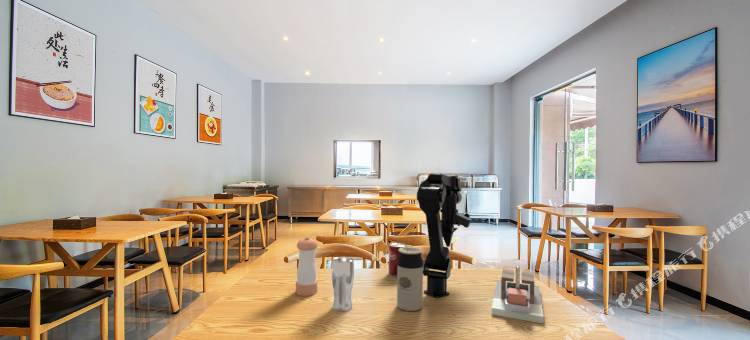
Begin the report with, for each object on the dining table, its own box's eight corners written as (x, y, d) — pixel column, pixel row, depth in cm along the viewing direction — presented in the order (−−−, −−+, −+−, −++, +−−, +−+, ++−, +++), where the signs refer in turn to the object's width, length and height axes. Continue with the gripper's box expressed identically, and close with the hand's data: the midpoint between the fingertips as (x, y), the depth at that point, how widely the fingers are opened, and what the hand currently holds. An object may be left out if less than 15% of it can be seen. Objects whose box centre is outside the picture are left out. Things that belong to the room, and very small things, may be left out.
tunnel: (533, 304, 105) (534, 281, 105) (501, 298, 109) (501, 277, 109) (532, 293, 115) (533, 272, 115) (502, 288, 118) (502, 268, 118)
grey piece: (529, 314, 98) (530, 275, 98) (504, 310, 100) (505, 271, 100) (528, 304, 105) (529, 267, 105) (505, 300, 108) (506, 264, 107)
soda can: (406, 271, 143) (406, 243, 142) (406, 277, 135) (406, 247, 135) (389, 270, 143) (389, 242, 143) (388, 276, 136) (388, 246, 136)
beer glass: (357, 304, 108) (357, 257, 108) (348, 313, 102) (348, 263, 101) (337, 301, 110) (337, 255, 110) (327, 310, 104) (327, 261, 104)
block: (526, 312, 99) (526, 295, 99) (507, 309, 101) (508, 293, 101) (525, 306, 104) (526, 290, 104) (508, 303, 106) (508, 287, 106)
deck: (543, 323, 97) (543, 316, 97) (491, 314, 102) (491, 307, 102) (538, 291, 122) (538, 286, 122) (497, 285, 127) (497, 280, 127)
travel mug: (407, 299, 113) (408, 245, 113) (427, 306, 107) (428, 249, 107) (391, 306, 107) (392, 249, 107) (411, 314, 102) (412, 254, 102)
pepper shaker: (291, 294, 116) (292, 238, 116) (303, 287, 123) (304, 234, 123) (309, 297, 114) (310, 240, 113) (321, 290, 120) (321, 236, 120)
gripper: (466, 211, 121) (465, 254, 121) (473, 205, 138) (472, 243, 138) (435, 208, 125) (434, 251, 126) (446, 203, 142) (445, 241, 143)
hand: (448, 246), depth 133 cm, fingers closed
